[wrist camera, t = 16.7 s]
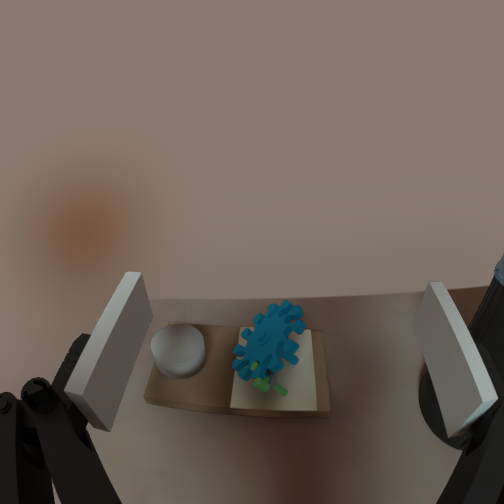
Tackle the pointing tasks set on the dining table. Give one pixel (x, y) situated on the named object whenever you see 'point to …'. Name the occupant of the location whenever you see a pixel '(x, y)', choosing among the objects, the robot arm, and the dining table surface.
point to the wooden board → (233, 374)
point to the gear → (269, 346)
